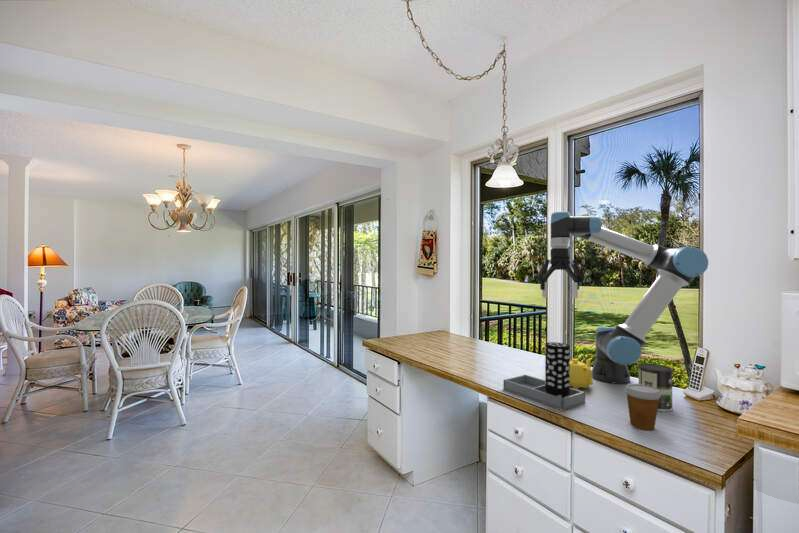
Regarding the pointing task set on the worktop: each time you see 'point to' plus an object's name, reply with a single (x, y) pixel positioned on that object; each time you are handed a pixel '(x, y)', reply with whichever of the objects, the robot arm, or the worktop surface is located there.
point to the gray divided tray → (542, 392)
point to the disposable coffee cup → (642, 405)
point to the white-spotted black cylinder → (557, 369)
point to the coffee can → (658, 382)
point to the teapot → (580, 374)
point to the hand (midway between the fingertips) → (559, 297)
